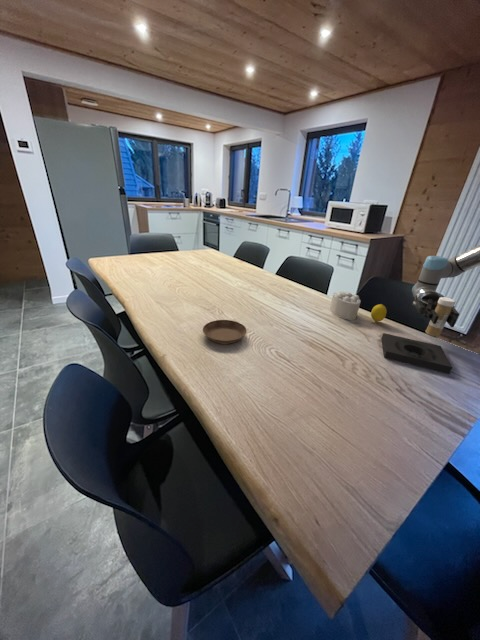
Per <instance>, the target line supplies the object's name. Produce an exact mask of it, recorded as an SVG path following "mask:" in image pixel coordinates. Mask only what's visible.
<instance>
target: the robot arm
mask: <svg viewBox="0 0 480 640" xmlns="http://www.w3.org/2000/svg"><path fill="white" fill-rule="evenodd" d="M477 267H480V244H479V245H477V246H475V247H473V248H470V249H469V250H466V251H464V252H461V253H460V254H457V255H456V256H452V257H451V258H447V257H444V256H439V255H428V256H426V258H425V260H424V263H423V264H422V268H421V270H420V274H419V277H418V279H417V281H416V283H415V284H414V285H413V286H412V289H411V293H412V297H413V298H414V300H413V301H412V306H413V307H414V308H415V310H416V311H417V313H418V314H419V315H423V314H424V315H423V317H424V318H426V319H427V318H429V319H430V320H431V321H432V323H433V324H436V322H437V320H438V318H439V316H438V315H437V313H436V312H435V309H436V307H437V305H438V300H439V298H440V297H441V295H440V294H439V293H438V292H437V288H438V287H439V285H440V282H441V279H448V278H449V279H450V278H455V277H459V276H460V275H461V274H463V273H465V272H467V271H470V270H472V269H475V268H477ZM459 316H460V313H459V311H458V310H457V309H456V308H455V305H454V306H453V308H452V310H451V312H450V314H449V317H448V319H447V321H446V323H447V325H449V327H450V328H454V326H455V324H456V323H457V321H458V319H459Z"/></svg>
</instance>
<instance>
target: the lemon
mask: <svg viewBox="0 0 480 640" xmlns="http://www.w3.org/2000/svg"><path fill="white" fill-rule="evenodd" d="M387 312H388V311H387V307H386V306H385V305H384V304H382V303H380V304H376V305H374V306H373V307H372V309H371V312H370V317H371V319H372V320H373V321H374V322H375V323H377V322H382V321H383V320H384V319H385V318H386V316H387Z"/></svg>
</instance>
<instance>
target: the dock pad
mask: <svg viewBox="0 0 480 640" xmlns="http://www.w3.org/2000/svg"><path fill="white" fill-rule="evenodd" d="M380 340H381V347H382V352H383V353H382V354H383V358H384V359H387V360H390V361H391V360H392V361H395V362H399V363H404V364H407V365H411V366H415V367H418V368H423V369H428V370H431V371H436V372H439V373H444V374H446V375H447V374H448V375H450V374H451V372H452V370H453V365H452V364H451V361H450V359H449V358H448V357H447V354H446V353H445V351H444V350H443V347H442V346H441V345H438V344H434V343H430V342H425V341H421V340H417V339H411V338H407V337H403V336H398V335H393V334H389V333H385V332H382V335H381V339H380Z"/></svg>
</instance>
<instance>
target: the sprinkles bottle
mask: <svg viewBox="0 0 480 640" xmlns="http://www.w3.org/2000/svg"><path fill="white" fill-rule="evenodd" d="M455 304H456V300H455V299H453V298H450V297H446V296H440V298H439V300H438V305H437V307H436V309H435V312H436V313H437V315H438V316H439V318H438V320H437V322H436V324H433V323H432V321H431V319H430V320H429V322H428V326H427V327H426V329H425V333H426V334H427V335H429V336H431V337H435V338H436V337H441V334H442V332H443V329H444V328H445V326H446V323H447V319H448V317H449V314H450V312H451V310H452V308H453V306H455Z"/></svg>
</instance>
